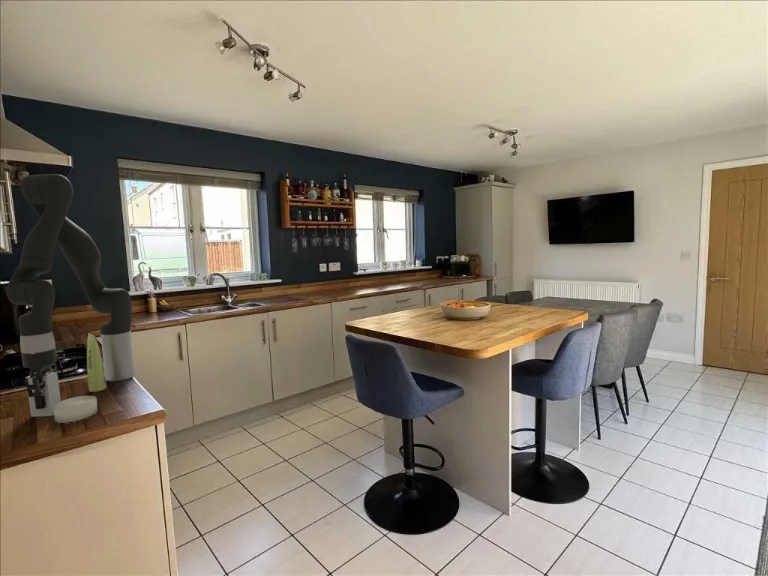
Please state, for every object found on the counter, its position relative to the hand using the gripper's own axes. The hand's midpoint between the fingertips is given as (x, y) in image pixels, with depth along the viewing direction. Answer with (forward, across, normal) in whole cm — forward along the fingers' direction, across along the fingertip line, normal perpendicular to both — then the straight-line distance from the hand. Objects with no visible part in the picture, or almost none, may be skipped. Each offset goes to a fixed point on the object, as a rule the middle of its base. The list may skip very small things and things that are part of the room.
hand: (45, 404), depth 117 cm
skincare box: (+3, 0, 0) cm, 3 cm away
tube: (+3, -17, +8) cm, 19 cm away
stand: (+3, +5, +9) cm, 11 cm away
